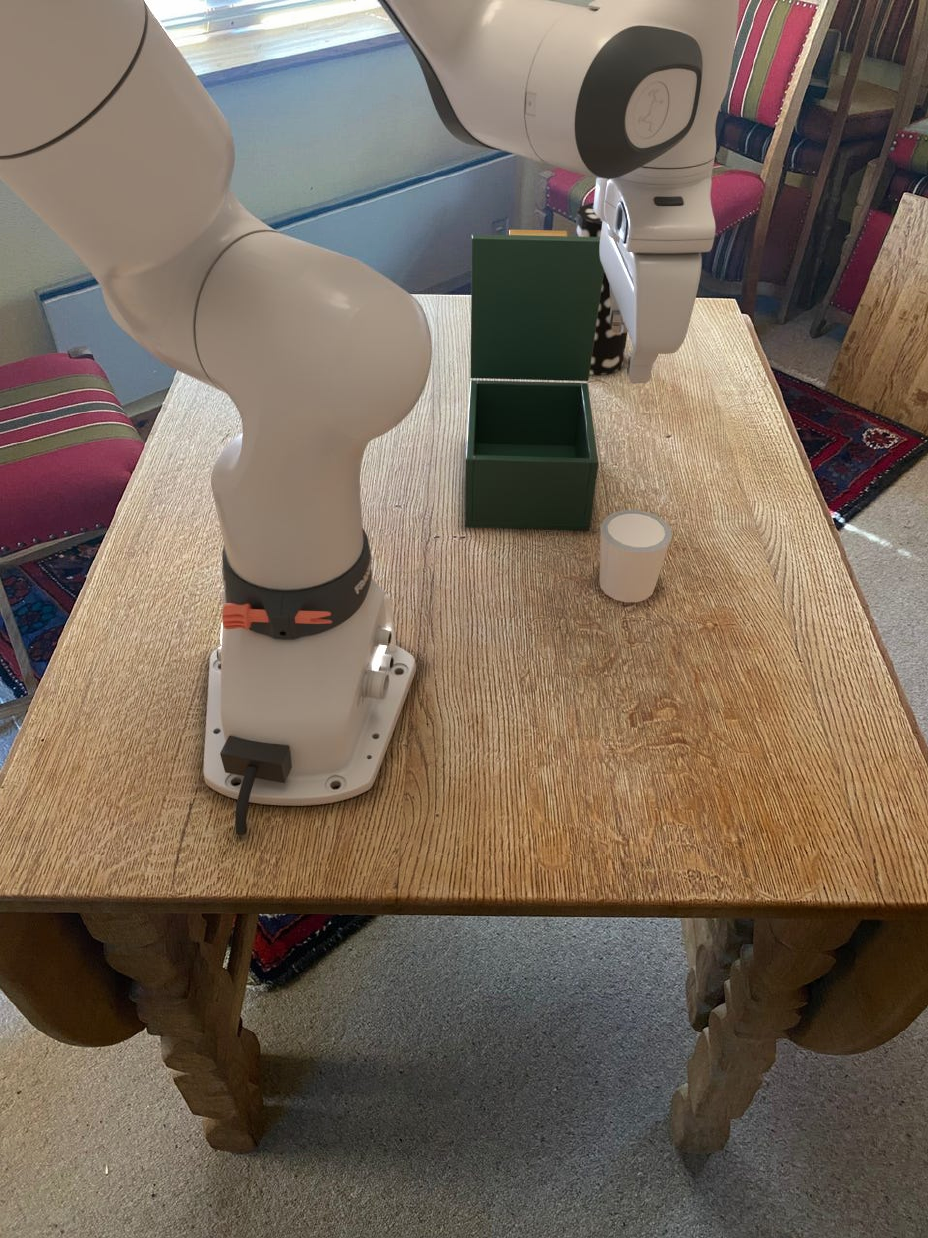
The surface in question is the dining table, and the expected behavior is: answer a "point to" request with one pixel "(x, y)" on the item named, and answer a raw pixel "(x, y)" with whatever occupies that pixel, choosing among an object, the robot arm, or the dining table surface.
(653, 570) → the shot glass
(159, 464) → the dining table surface
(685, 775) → the dining table surface
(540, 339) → the lid
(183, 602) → the dining table surface
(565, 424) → the chest
